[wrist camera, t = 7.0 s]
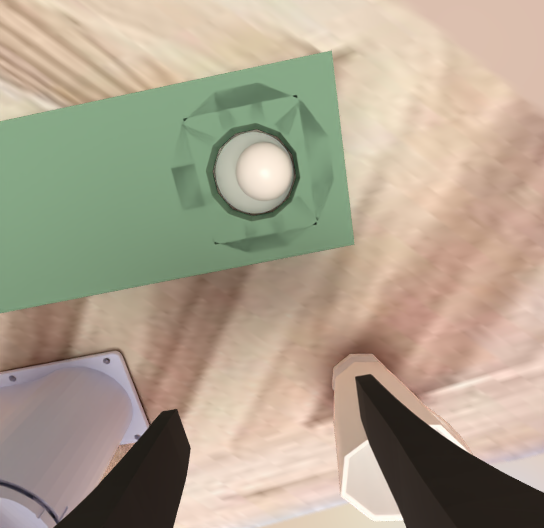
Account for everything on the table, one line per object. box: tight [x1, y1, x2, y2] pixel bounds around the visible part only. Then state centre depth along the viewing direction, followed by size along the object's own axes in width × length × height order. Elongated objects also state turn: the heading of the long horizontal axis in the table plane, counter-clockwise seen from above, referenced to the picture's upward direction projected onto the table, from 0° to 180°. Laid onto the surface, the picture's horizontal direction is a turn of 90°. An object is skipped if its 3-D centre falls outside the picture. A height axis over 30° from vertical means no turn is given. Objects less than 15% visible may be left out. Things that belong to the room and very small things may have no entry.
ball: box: [236, 142, 292, 201], centre depth 17 cm, size 3×3×3 cm
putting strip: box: [0, 51, 354, 313], centre depth 18 cm, size 24×10×2 cm, turn 101°
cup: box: [332, 354, 473, 521], centre depth 20 cm, size 7×10×8 cm
